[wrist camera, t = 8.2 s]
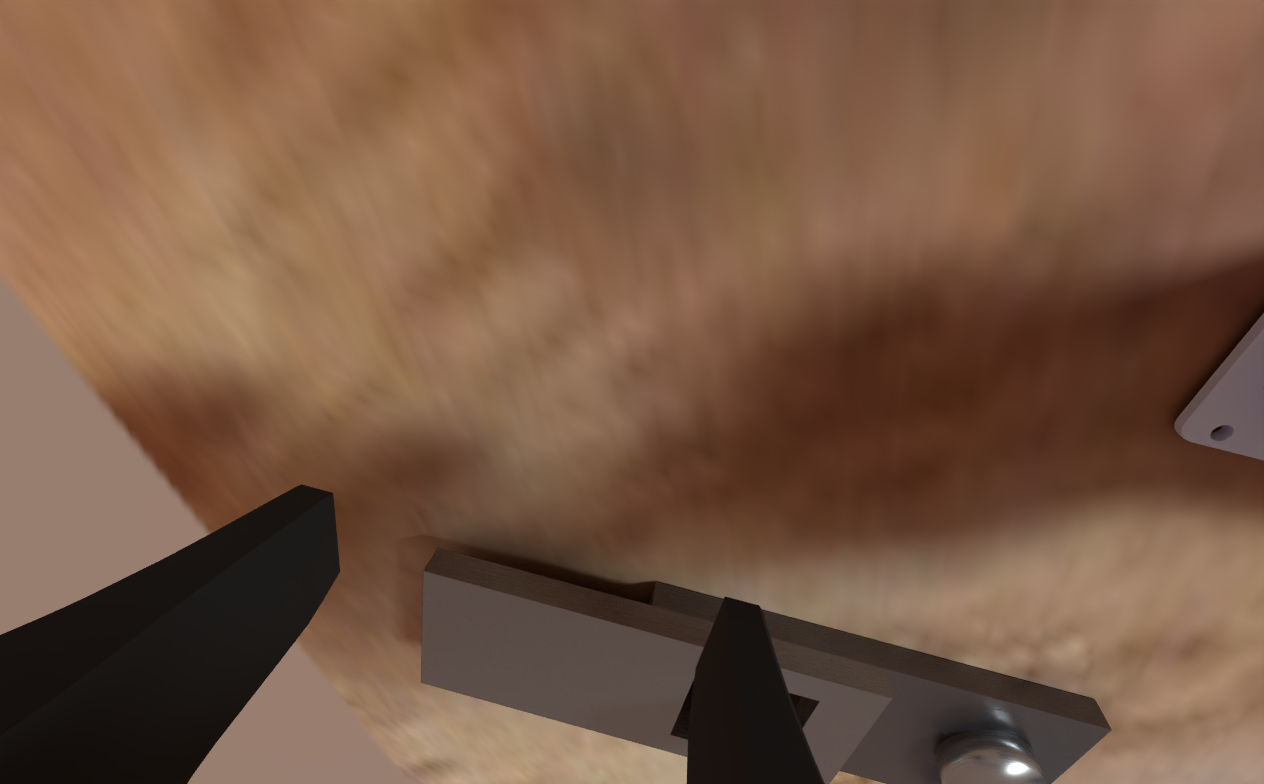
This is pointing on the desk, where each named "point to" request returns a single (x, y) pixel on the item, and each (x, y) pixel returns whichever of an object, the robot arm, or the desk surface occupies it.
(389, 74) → the desk surface
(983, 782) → the end link lower
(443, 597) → the end link upper
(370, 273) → the desk surface
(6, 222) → the desk surface
